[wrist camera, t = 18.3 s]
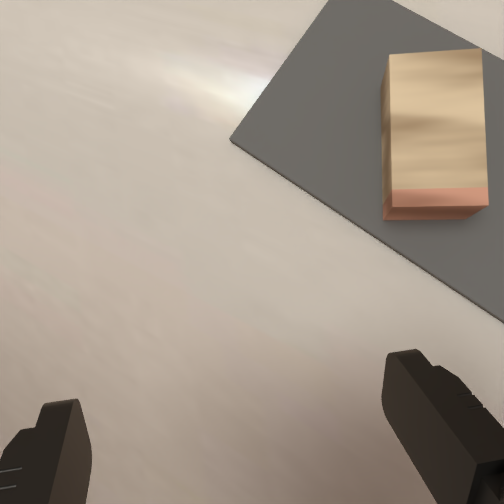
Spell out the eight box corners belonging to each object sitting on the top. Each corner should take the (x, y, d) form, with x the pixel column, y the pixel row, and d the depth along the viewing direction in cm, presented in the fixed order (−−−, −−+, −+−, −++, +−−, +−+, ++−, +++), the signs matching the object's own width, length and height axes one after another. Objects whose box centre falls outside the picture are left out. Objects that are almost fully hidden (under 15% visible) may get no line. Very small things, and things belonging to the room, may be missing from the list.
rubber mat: (230, 141, 31) (229, 138, 31) (345, -19, 32) (346, -25, 31) (513, 329, 27) (517, 330, 27) (646, 144, 27) (653, 140, 27)
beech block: (459, 83, 29) (465, 219, 28) (380, 87, 30) (382, 220, 29) (481, 48, 25) (488, 205, 24) (389, 54, 26) (392, 207, 25)
